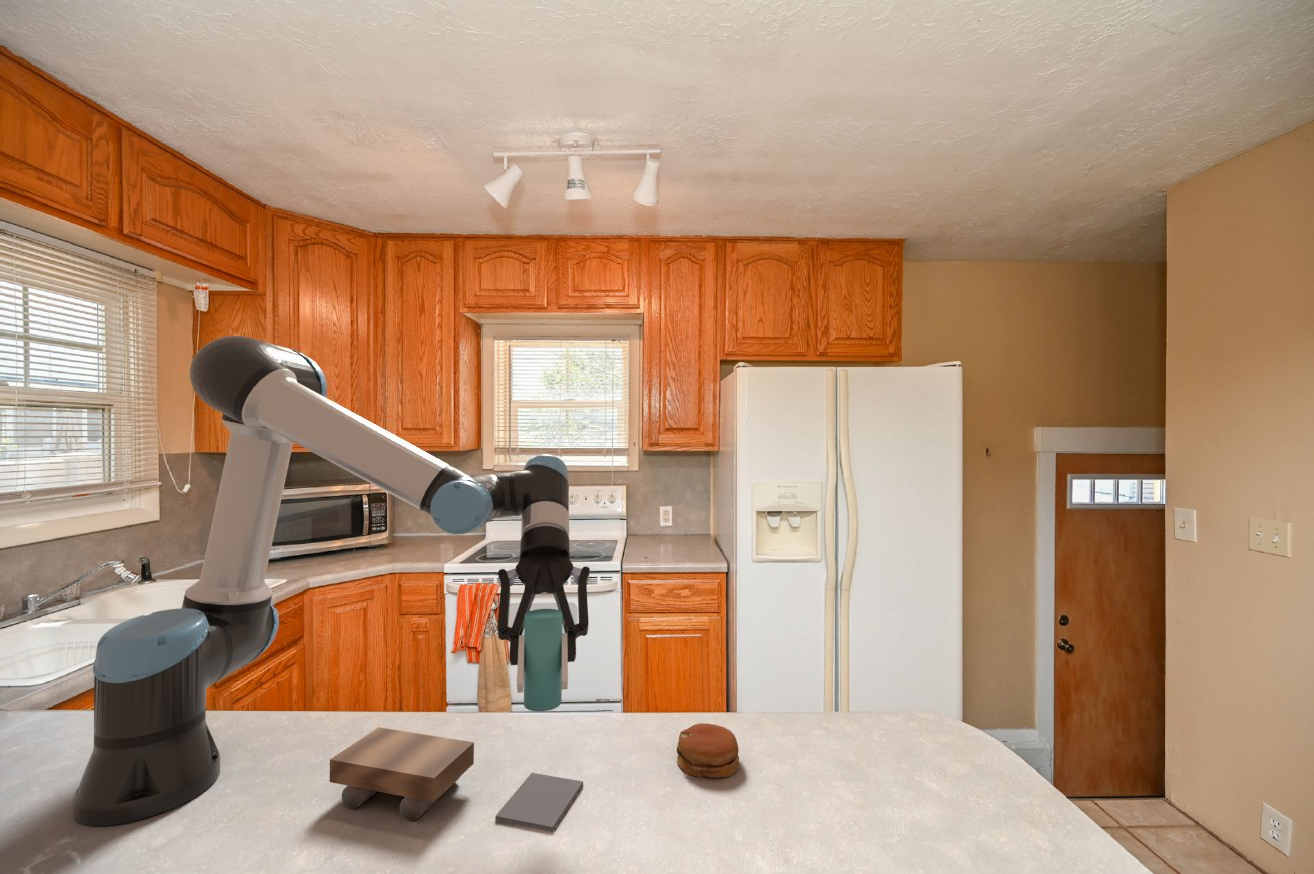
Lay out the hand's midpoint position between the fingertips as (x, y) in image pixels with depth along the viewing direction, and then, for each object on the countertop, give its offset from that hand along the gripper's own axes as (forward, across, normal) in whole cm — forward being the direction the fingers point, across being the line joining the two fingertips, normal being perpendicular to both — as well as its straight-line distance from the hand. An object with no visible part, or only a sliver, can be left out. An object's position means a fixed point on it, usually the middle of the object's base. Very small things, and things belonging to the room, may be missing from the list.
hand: (542, 686), depth 74 cm
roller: (0, 0, -5) cm, 5 cm away
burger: (+6, -25, -19) cm, 32 cm away
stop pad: (+10, 0, -15) cm, 18 cm away
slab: (+6, +19, -18) cm, 27 cm away
